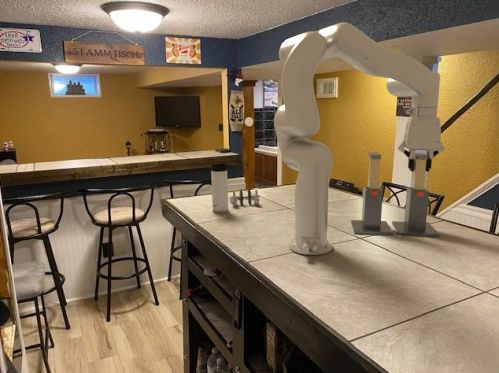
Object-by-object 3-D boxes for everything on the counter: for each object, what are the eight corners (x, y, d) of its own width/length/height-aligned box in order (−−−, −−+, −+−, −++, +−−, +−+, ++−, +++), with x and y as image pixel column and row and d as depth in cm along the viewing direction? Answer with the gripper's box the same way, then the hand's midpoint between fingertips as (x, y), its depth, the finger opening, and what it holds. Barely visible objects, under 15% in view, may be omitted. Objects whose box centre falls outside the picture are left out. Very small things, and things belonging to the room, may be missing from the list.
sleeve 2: (439, 237, 121) (443, 194, 118) (399, 235, 123) (402, 193, 120) (428, 225, 132) (431, 185, 129) (391, 224, 134) (394, 185, 131)
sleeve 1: (392, 235, 123) (395, 193, 120) (354, 233, 125) (356, 192, 122) (386, 223, 134) (388, 185, 131) (350, 222, 136) (352, 184, 133)
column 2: (423, 215, 123) (428, 155, 119) (413, 214, 123) (417, 155, 119) (418, 210, 129) (423, 152, 124) (408, 209, 129) (413, 152, 125)
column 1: (377, 213, 125) (381, 154, 121) (368, 213, 126) (371, 154, 122) (375, 208, 131) (378, 152, 127) (365, 208, 131) (368, 152, 127)
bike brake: (262, 205, 158) (256, 200, 178) (262, 189, 158) (256, 186, 178) (229, 207, 157) (227, 202, 177) (229, 191, 157) (226, 188, 177)
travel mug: (214, 214, 149) (212, 163, 145) (211, 209, 156) (209, 161, 151) (230, 212, 151) (228, 162, 147) (226, 208, 157) (225, 160, 153)
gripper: (398, 113, 117) (394, 172, 121) (456, 113, 114) (450, 173, 118) (393, 113, 124) (389, 168, 128) (448, 112, 121) (443, 169, 125)
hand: (419, 170), depth 123 cm, fingers open, 4 cm apart
